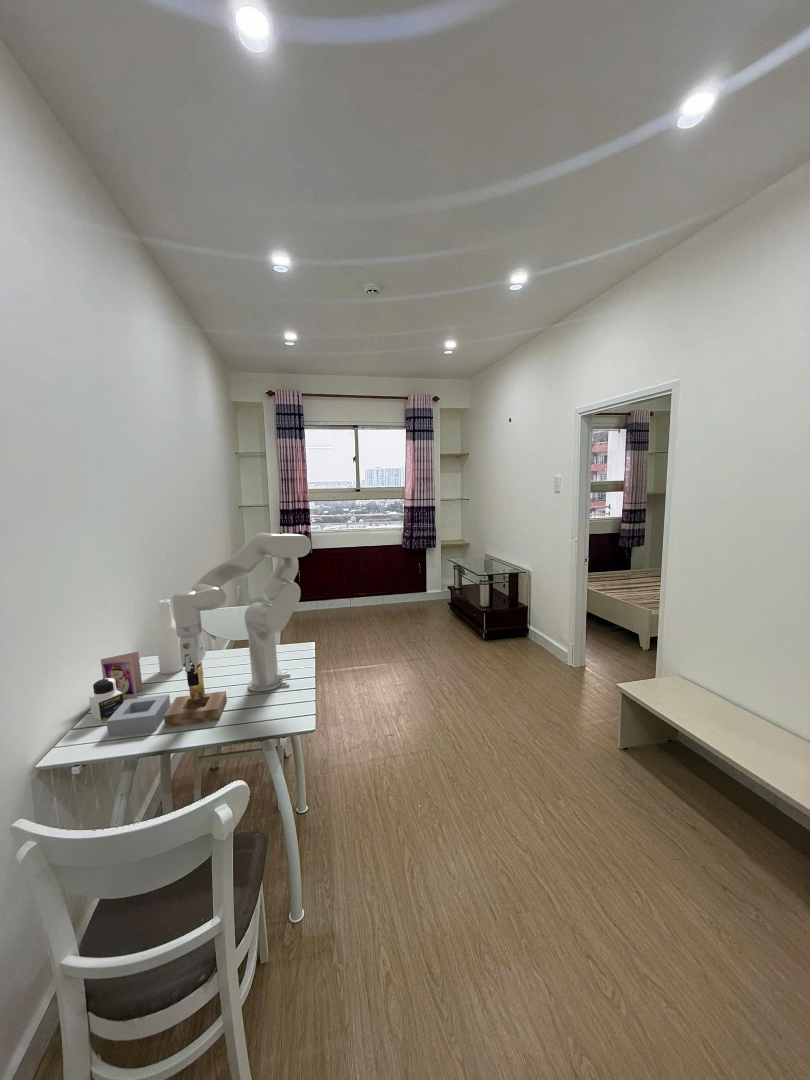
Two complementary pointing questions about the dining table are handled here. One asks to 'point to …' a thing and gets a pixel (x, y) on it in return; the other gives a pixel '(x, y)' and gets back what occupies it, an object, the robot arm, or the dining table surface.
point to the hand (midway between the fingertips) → (195, 681)
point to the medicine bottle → (105, 699)
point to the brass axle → (197, 690)
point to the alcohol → (168, 641)
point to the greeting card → (124, 673)
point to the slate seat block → (138, 715)
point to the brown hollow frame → (195, 709)
